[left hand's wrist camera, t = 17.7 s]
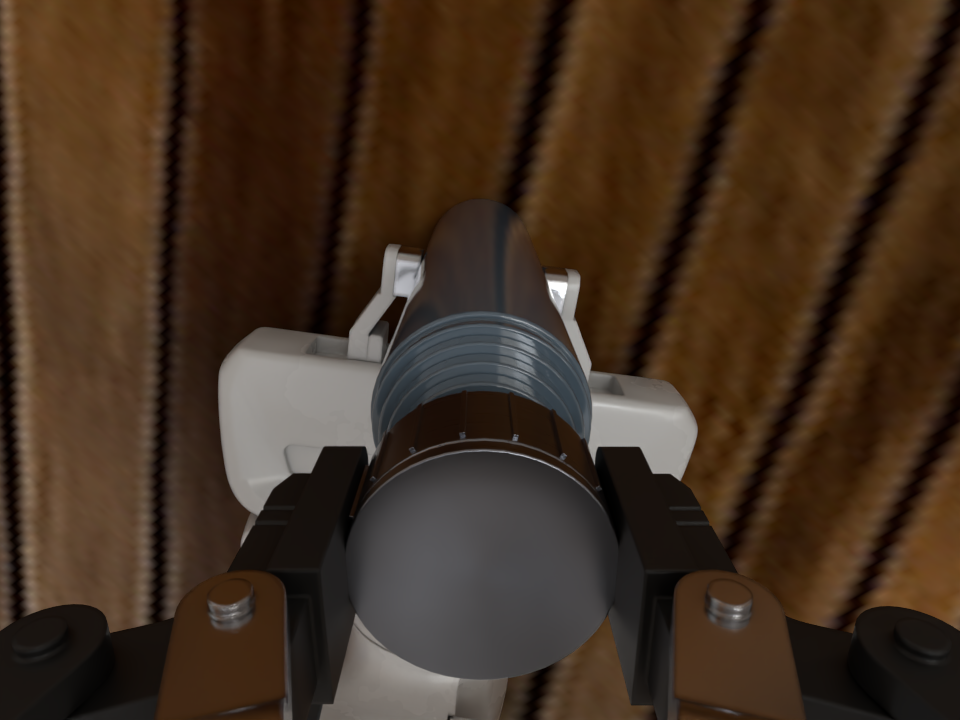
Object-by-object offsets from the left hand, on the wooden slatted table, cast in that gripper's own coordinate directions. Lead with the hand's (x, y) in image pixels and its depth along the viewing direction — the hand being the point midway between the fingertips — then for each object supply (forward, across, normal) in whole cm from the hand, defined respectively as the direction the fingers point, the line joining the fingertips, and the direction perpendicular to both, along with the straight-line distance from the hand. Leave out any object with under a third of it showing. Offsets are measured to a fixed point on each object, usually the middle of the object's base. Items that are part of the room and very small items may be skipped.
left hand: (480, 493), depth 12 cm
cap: (-2, 0, 0) cm, 2 cm away
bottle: (+23, 0, 0) cm, 23 cm away
